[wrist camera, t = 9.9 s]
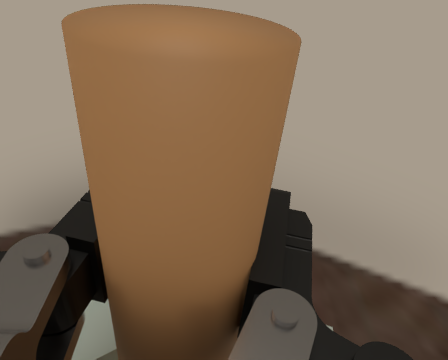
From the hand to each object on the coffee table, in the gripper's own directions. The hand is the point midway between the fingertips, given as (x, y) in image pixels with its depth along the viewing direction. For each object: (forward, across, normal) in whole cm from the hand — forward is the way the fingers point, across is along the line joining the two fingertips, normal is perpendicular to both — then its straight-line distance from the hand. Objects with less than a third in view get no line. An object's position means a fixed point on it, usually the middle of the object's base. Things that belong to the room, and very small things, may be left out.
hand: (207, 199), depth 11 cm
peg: (-3, 0, +8) cm, 9 cm away
